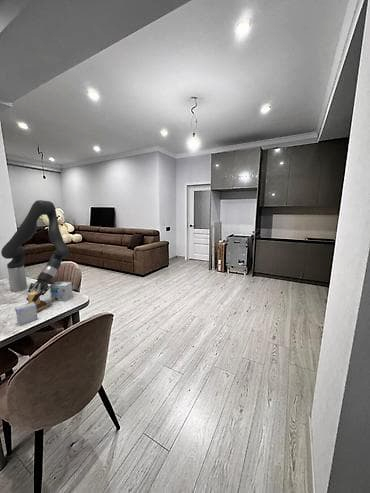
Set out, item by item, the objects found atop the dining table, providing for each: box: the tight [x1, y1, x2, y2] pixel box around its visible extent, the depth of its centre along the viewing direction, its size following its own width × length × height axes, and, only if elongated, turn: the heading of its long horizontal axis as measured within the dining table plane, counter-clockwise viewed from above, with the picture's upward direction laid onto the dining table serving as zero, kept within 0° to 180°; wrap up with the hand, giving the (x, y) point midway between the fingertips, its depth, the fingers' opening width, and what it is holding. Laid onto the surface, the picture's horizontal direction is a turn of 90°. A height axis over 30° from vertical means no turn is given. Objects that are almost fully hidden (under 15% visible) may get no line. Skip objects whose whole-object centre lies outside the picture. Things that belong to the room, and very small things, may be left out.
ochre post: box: [27, 291, 41, 305], centre depth 117 cm, size 4×4×8 cm
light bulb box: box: [49, 281, 74, 302], centre depth 131 cm, size 11×7×11 cm, turn 88°
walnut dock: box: [24, 299, 53, 314], centre depth 118 cm, size 12×12×3 cm
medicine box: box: [14, 303, 38, 326], centre depth 105 cm, size 8×4×9 cm, turn 141°
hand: (30, 300), depth 116 cm, fingers closed on ochre post, 3 cm apart
